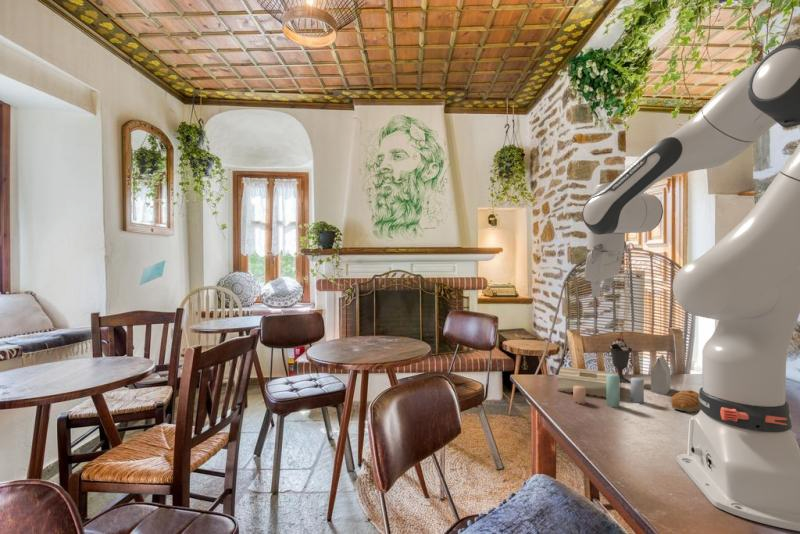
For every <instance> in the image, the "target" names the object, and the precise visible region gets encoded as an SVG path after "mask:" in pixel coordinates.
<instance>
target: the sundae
mask: <svg viewBox="0 0 800 534" xmlns="http://www.w3.org/2000/svg"><path fill="white" fill-rule="evenodd" d="M619 333H620V336H619V337H617V338H616V339H615V340H614V341H613V343H612V344H610V346H609V347H608V349H609V350H610V353H611V354H610V355H611V360H612V365H613V366H614V367H615V368H616V369H617V373H618V375H619V381H620V383H629V382H630V379H628V378H627V377H626V378H625V377H624V374H623V370H624V369H626V368H627V367H628V365H629V358H630V353H631V352H633V348H631V347H629V345H628V344H627V343H626V341H625V339H624V336H623V331H621V332H619Z"/></svg>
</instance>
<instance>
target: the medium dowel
mask: <svg viewBox="0 0 800 534" xmlns="http://www.w3.org/2000/svg"><path fill="white" fill-rule="evenodd" d="M644 394H645V380H644V379H643V378H640V377H631V378H630V402H631V403H635V404H644V403H645V395H644Z"/></svg>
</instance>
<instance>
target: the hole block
mask: <svg viewBox="0 0 800 534" xmlns="http://www.w3.org/2000/svg"><path fill="white" fill-rule="evenodd" d="M606 374H617V375H618V372H612V371H601V370H594V369H585V368H584V369H583V368H574V367H573V368H572V367H563V366H560V368H559V371H558V374H557V375H558V376H557V391H558V392H563V391H566V392H565V393H571V392H573V386H583V387H585V394H589V395H588V396H593V395H597V396H596V397H601V396H603V397H602V398H606ZM619 400H621V382H620V381H619Z"/></svg>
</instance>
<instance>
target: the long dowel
mask: <svg viewBox="0 0 800 534" xmlns="http://www.w3.org/2000/svg"><path fill="white" fill-rule="evenodd" d="M605 398H606V399H605V400H606V406H607V405H608V406H607V407H609V406H610V408H614V409H615V408H616V409H617V408H620V399H619V375H617V374H606V397H605Z"/></svg>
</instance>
